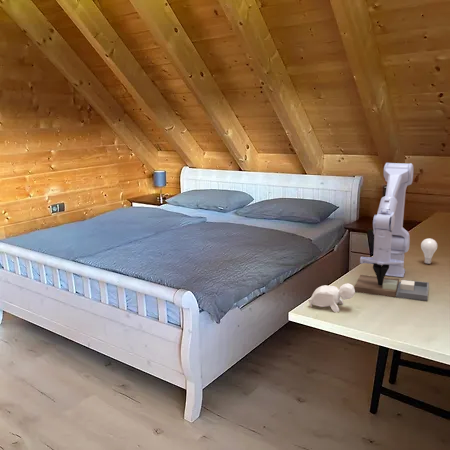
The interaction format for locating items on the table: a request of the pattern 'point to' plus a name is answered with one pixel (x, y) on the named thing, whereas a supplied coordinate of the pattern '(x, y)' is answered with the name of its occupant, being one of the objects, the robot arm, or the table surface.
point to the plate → (374, 286)
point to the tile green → (389, 284)
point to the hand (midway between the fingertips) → (380, 284)
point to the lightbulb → (428, 249)
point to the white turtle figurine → (331, 296)
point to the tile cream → (407, 285)
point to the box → (417, 294)
